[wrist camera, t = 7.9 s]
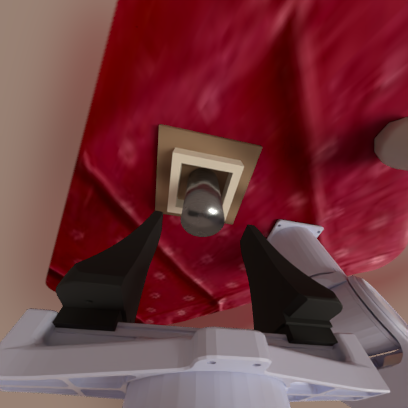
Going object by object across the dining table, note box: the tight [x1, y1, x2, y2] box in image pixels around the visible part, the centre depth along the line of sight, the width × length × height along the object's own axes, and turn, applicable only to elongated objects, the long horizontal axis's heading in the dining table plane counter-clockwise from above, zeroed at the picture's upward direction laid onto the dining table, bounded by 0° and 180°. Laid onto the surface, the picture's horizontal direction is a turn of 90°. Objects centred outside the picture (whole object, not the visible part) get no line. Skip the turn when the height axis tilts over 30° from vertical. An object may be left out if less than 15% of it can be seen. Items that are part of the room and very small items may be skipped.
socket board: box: [155, 124, 262, 224], centre depth 21 cm, size 12×12×3 cm
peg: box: [181, 168, 225, 237], centre depth 18 cm, size 4×4×8 cm
